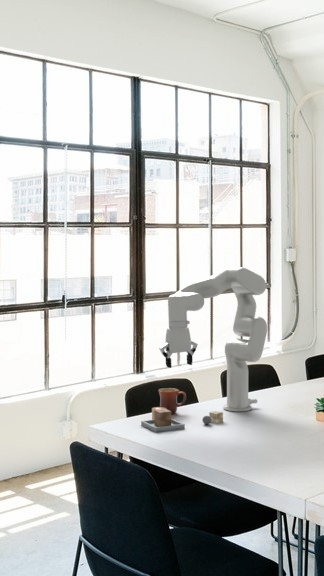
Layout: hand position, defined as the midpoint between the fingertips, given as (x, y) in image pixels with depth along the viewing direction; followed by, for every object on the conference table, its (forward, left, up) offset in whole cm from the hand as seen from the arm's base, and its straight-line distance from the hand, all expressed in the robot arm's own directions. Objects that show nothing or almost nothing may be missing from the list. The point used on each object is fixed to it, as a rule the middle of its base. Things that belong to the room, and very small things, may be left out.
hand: (179, 365), depth 296 cm
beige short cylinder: (+6, -7, -24) cm, 25 cm away
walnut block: (+10, +4, -23) cm, 25 cm away
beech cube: (-14, +6, -24) cm, 28 cm away
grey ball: (-8, +8, -22) cm, 25 cm away
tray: (+10, +4, -24) cm, 26 cm away
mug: (-5, -16, -24) cm, 29 cm away
